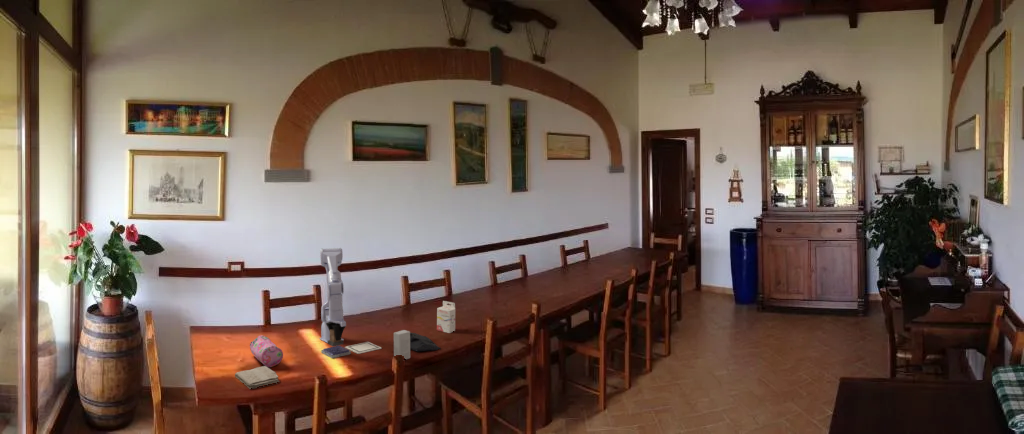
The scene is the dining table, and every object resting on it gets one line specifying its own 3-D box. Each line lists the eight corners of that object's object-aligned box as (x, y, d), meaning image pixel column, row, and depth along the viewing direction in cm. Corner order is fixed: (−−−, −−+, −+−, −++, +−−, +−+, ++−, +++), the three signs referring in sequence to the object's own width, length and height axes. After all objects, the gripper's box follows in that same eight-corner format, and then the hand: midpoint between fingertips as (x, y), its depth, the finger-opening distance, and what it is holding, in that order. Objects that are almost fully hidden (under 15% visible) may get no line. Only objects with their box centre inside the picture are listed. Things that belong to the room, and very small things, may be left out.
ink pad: (321, 352, 266) (321, 348, 266) (340, 348, 272) (339, 344, 272) (332, 358, 259) (332, 354, 259) (350, 354, 265) (350, 350, 265)
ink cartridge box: (436, 330, 304) (436, 302, 303) (442, 328, 309) (442, 300, 307) (449, 333, 300) (449, 304, 299) (455, 331, 304) (455, 302, 303)
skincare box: (404, 356, 264) (404, 329, 263) (410, 358, 261) (410, 331, 260) (393, 359, 259) (393, 332, 258) (399, 361, 256) (399, 334, 255)
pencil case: (249, 355, 261) (248, 335, 260) (271, 352, 266) (270, 332, 265) (260, 370, 244) (260, 348, 243) (283, 366, 249) (283, 345, 248)
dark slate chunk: (411, 355, 266) (411, 345, 266) (395, 342, 285) (395, 332, 285) (443, 350, 274) (443, 340, 274) (425, 338, 293) (425, 328, 293)
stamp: (327, 343, 265) (327, 329, 265) (338, 341, 269) (337, 327, 268) (333, 346, 262) (332, 331, 261) (343, 344, 265) (343, 329, 264)
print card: (345, 347, 274) (345, 346, 274) (368, 342, 282) (368, 341, 282) (358, 354, 265) (358, 352, 265) (381, 348, 274) (381, 347, 274)
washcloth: (250, 391, 222) (250, 383, 222) (233, 378, 235) (233, 370, 235) (281, 383, 231) (281, 375, 230) (264, 371, 244) (263, 363, 243)
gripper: (319, 307, 266) (319, 337, 267) (335, 313, 256) (335, 344, 257) (334, 305, 271) (334, 334, 272) (350, 311, 261) (350, 341, 262)
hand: (336, 339), depth 265 cm, fingers closed on stamp, 4 cm apart
